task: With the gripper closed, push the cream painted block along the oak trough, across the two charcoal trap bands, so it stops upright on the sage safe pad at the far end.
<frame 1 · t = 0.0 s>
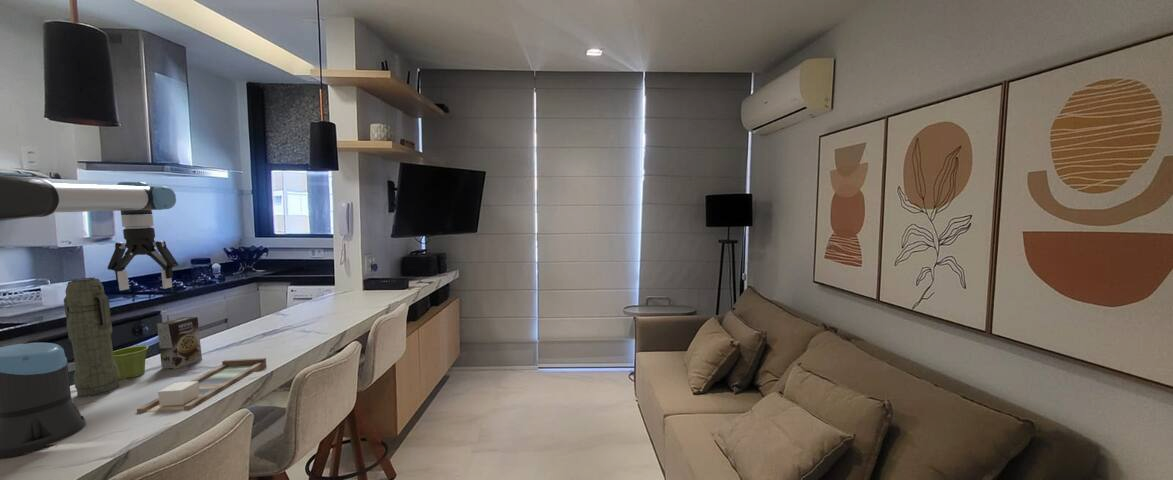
hand: (146, 288, 151), 28 cm above the table, fingers open, 13 cm apart
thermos: (99, 391, 134), on the table
plant pot: (131, 376, 146), on the table
coffee box: (182, 364, 156), on the table
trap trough: (208, 388, 134), on the table
cream block: (180, 401, 123), point 1 cm above the table, touching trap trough
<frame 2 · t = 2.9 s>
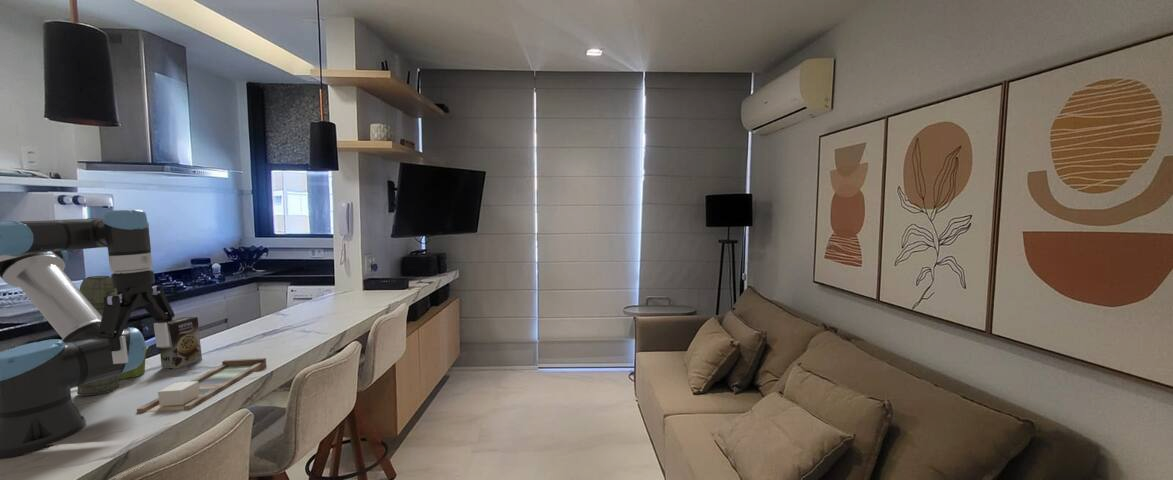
hand: (143, 354, 112), 18 cm above the table, fingers open, 11 cm apart
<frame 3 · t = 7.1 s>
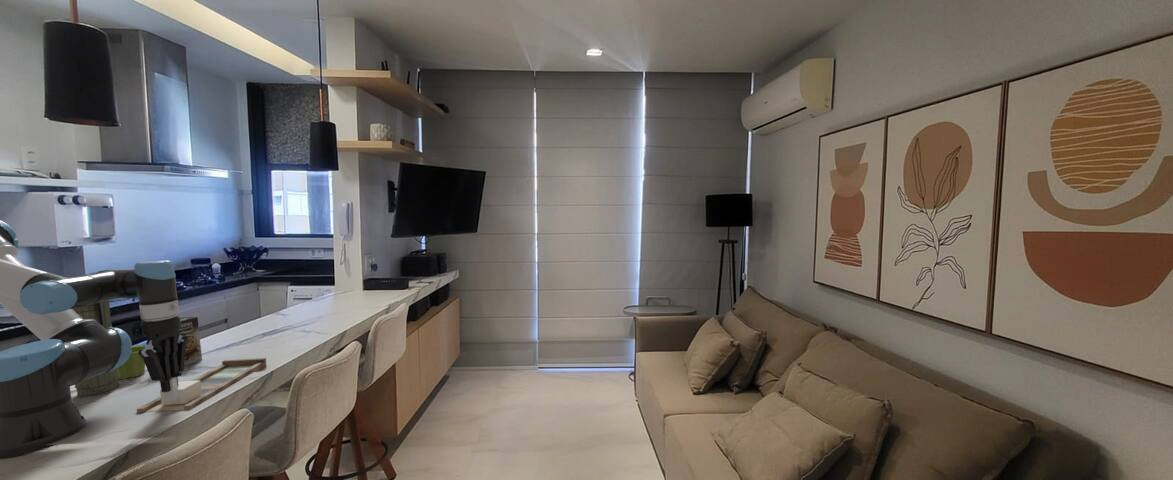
hand: (171, 401, 120), 3 cm above the table, fingers closed
cream block: (182, 400, 124), point 1 cm above the table, touching gripper
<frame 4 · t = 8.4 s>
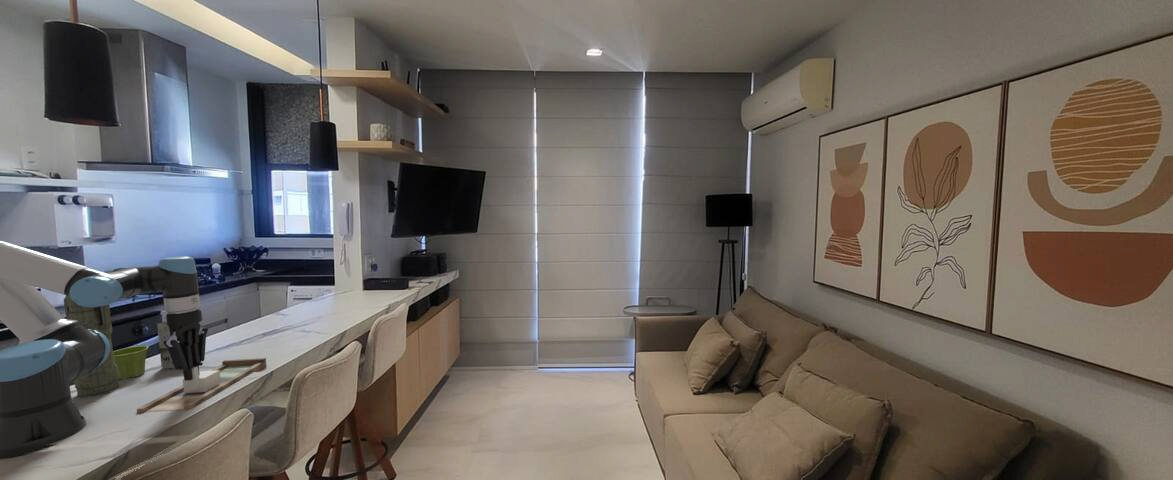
hand: (193, 389, 128), 3 cm above the table, fingers closed
cream block: (203, 388, 131), point 1 cm above the table, touching gripper
everything else where it was.
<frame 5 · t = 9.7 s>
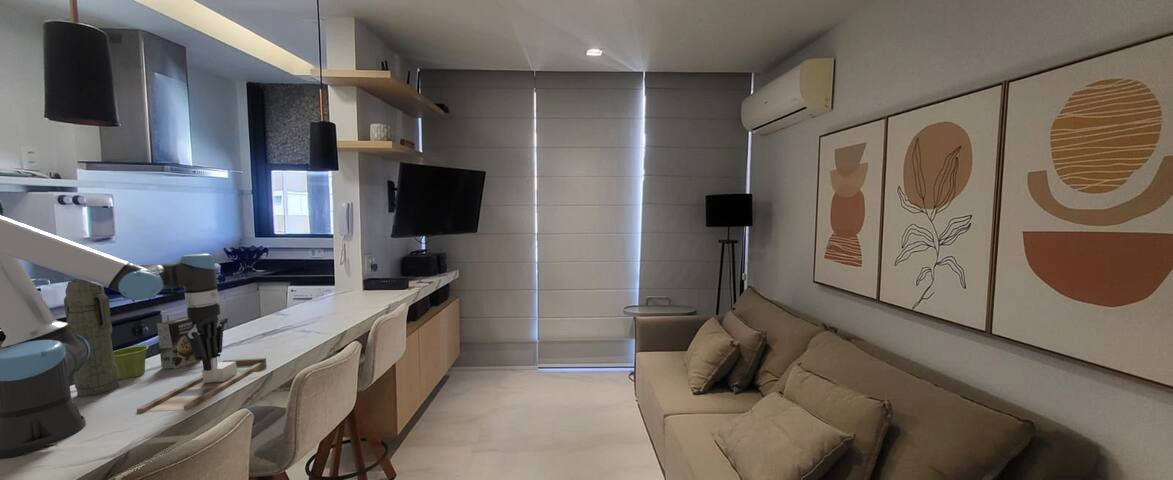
hand: (212, 378, 135), 3 cm above the table, fingers closed
cream block: (220, 378, 139), point 1 cm above the table, touching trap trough
everything else where it was.
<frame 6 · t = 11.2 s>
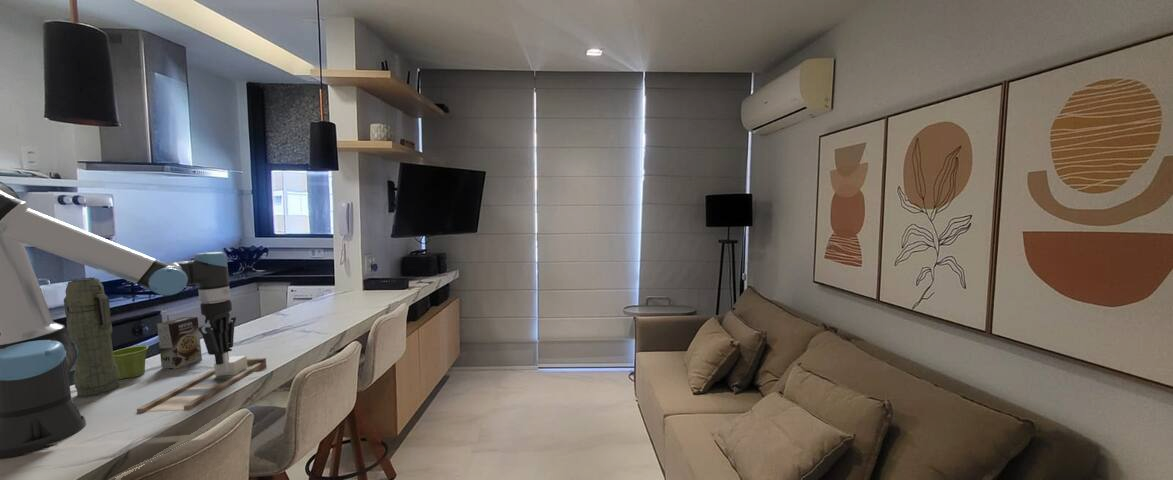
hand: (223, 372, 140), 2 cm above the table, fingers closed
cream block: (231, 372, 144), point 1 cm above the table, touching gripper, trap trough
everything else where it was.
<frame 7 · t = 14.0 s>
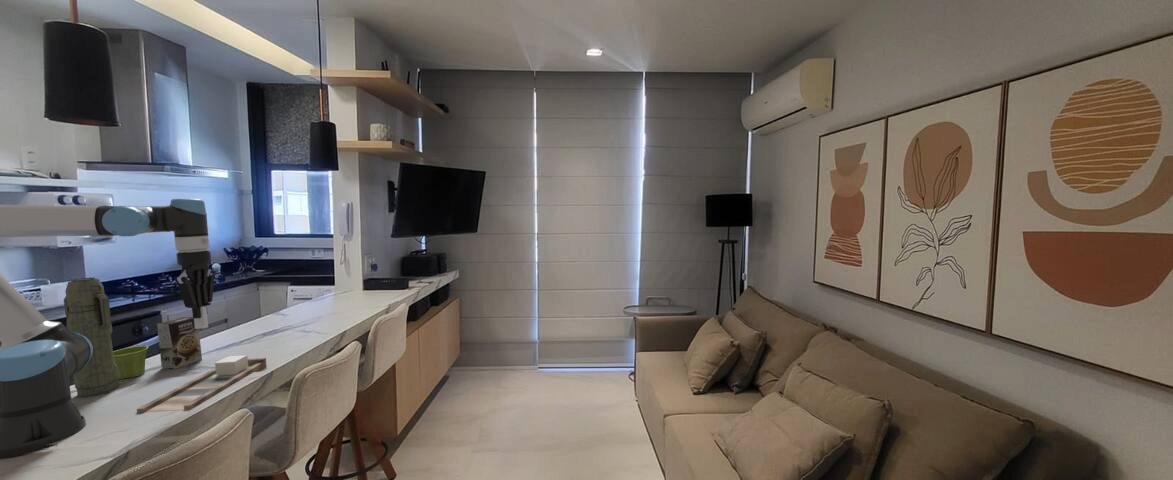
hand: (201, 327, 132), 19 cm above the table, fingers closed
cream block: (232, 372, 144), point 1 cm above the table, touching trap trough
everything else where it was.
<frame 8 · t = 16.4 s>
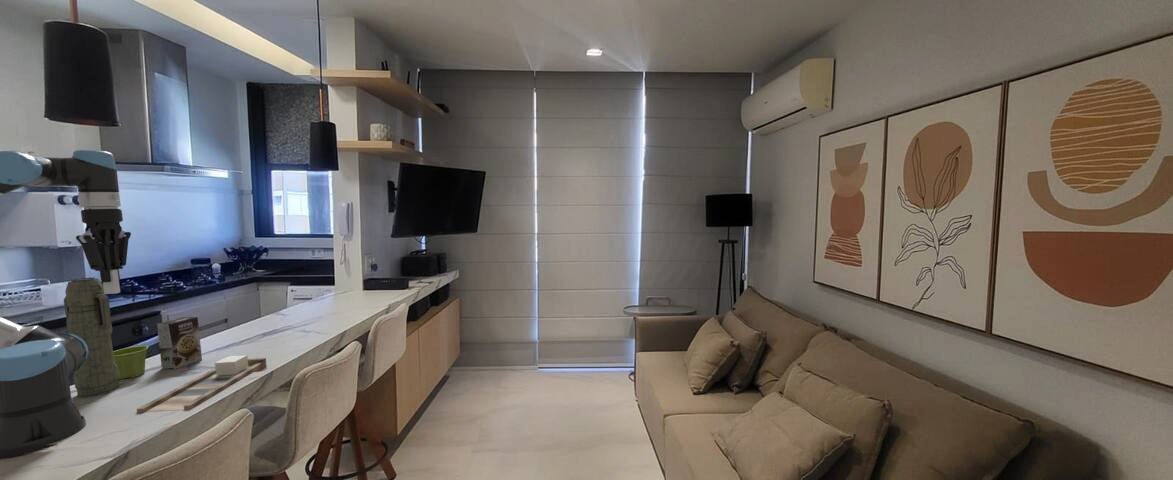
hand: (112, 293, 121), 32 cm above the table, fingers closed
nothing on the table moved.
at the end: cream block inside the target area (0.0 cm from its centre), point 1.0 cm above the table; cream block tilted 0° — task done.
